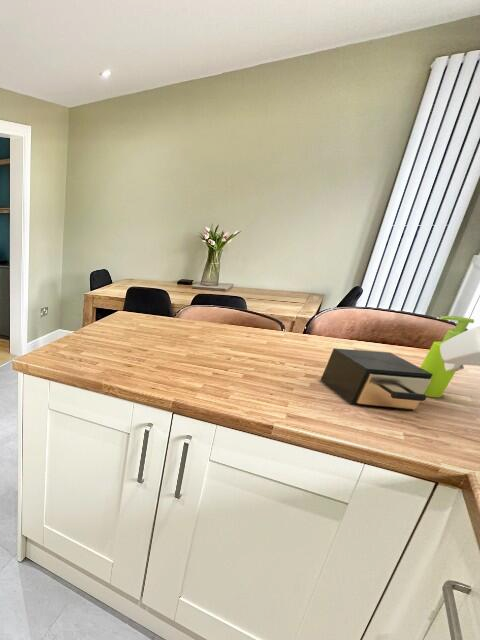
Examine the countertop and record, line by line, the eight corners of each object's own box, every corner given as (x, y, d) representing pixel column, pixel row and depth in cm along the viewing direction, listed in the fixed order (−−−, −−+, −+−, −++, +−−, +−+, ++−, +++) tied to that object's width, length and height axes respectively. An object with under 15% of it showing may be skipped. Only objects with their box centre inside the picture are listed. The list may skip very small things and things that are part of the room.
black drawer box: (413, 410, 95) (433, 374, 91) (350, 404, 98) (367, 368, 94) (374, 385, 108) (390, 352, 104) (320, 380, 111) (333, 348, 107)
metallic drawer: (431, 419, 90) (449, 388, 86) (370, 413, 92) (385, 383, 89) (378, 385, 106) (391, 358, 102) (328, 381, 108) (339, 354, 105)
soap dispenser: (403, 384, 109) (440, 312, 100) (440, 392, 104) (483, 318, 96) (403, 391, 105) (442, 317, 96) (442, 399, 100) (486, 323, 92)
